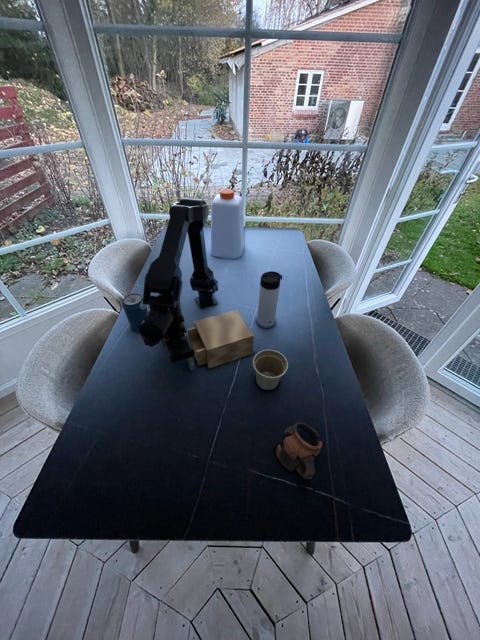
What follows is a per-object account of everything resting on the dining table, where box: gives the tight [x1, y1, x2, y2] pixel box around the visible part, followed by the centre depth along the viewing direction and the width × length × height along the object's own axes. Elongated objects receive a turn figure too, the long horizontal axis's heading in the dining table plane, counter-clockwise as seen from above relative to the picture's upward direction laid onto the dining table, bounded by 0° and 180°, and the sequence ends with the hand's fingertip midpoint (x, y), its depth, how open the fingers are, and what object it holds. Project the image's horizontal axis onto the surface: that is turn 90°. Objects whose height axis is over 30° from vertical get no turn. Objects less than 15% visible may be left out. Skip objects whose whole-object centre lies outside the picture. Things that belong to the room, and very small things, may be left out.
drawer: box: [186, 326, 208, 372], centre depth 80 cm, size 18×11×7 cm, turn 114°
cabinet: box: [193, 309, 255, 369], centre depth 83 cm, size 15×13×9 cm
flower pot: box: [252, 349, 289, 391], centre depth 74 cm, size 9×9×9 cm
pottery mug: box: [275, 421, 323, 480], centre depth 60 cm, size 12×10×8 cm
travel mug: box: [256, 270, 283, 329], centre depth 88 cm, size 6×7×20 cm
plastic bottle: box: [210, 188, 245, 260], centre depth 121 cm, size 15×15×28 cm
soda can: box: [122, 293, 149, 332], centre depth 88 cm, size 7×7×12 cm
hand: (178, 352), depth 79 cm, fingers closed, pressing on drawer
